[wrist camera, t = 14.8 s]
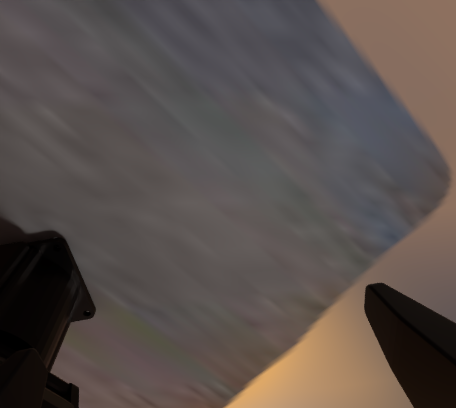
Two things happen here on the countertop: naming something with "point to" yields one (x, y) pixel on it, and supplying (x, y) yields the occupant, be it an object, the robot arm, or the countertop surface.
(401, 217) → the countertop surface
